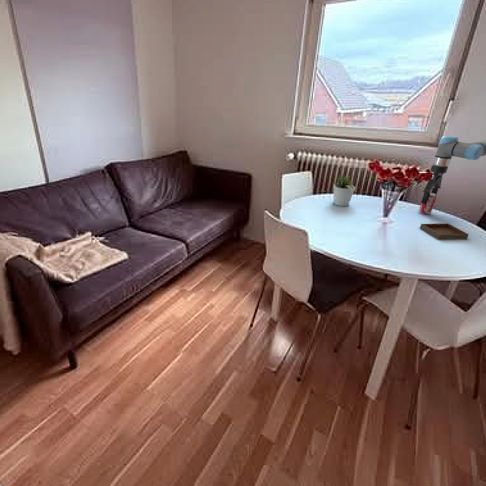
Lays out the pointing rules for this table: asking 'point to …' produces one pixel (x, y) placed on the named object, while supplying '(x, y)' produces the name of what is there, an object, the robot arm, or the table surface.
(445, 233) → the tray
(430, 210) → the beverage can
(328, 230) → the table surface
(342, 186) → the potted plant
